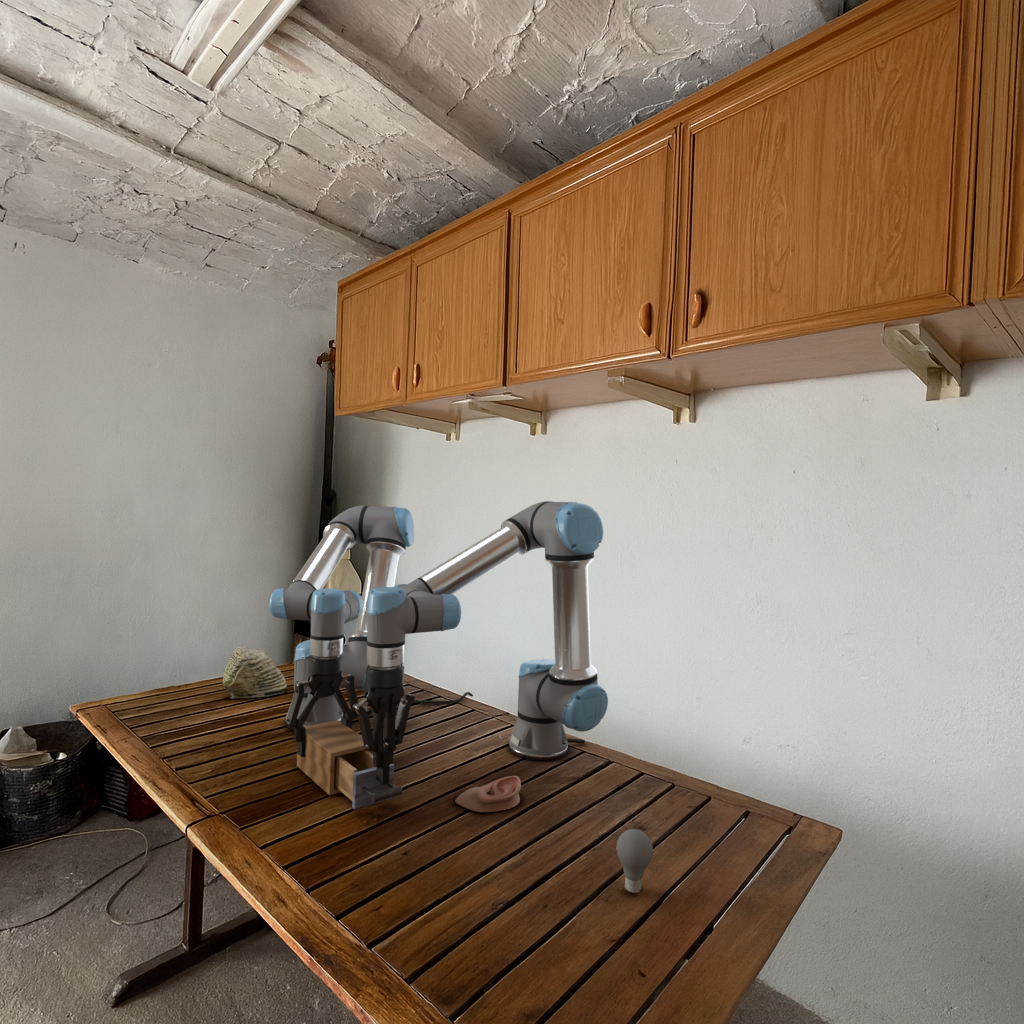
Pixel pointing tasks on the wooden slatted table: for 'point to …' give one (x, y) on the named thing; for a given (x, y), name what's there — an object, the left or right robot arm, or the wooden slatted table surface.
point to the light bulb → (634, 857)
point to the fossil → (252, 674)
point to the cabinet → (327, 751)
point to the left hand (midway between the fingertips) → (322, 749)
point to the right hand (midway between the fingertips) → (382, 781)
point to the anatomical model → (492, 795)
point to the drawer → (362, 779)
